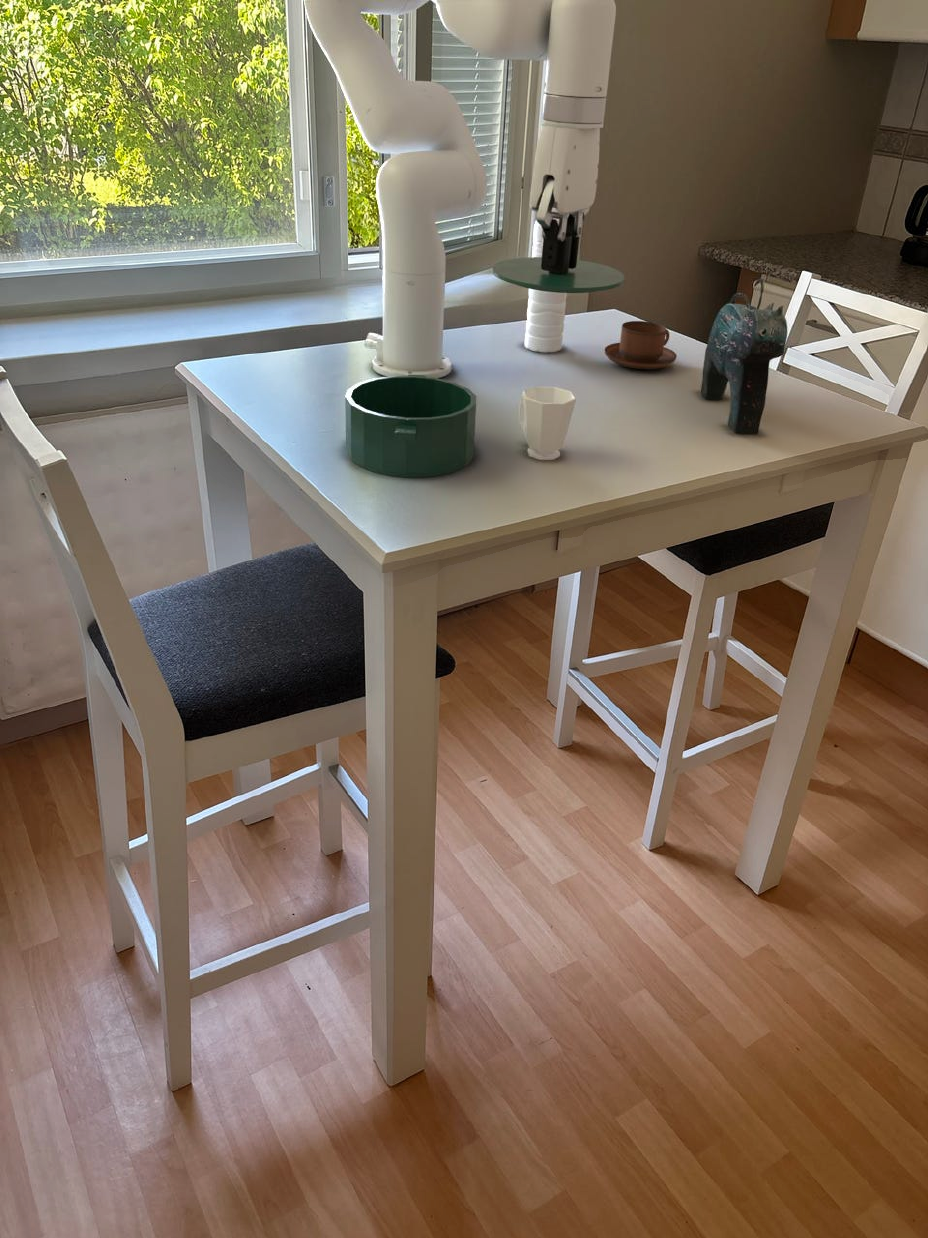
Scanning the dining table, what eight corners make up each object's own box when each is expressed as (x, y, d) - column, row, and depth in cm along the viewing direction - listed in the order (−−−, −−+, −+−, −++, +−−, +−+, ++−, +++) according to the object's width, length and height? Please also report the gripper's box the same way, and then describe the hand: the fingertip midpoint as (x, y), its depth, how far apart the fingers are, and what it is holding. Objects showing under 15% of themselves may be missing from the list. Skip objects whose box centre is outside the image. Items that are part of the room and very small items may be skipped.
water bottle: (569, 350, 170) (585, 195, 157) (539, 355, 167) (553, 197, 153) (538, 337, 176) (551, 186, 163) (509, 341, 173) (520, 188, 160)
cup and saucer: (624, 348, 172) (628, 313, 169) (686, 363, 167) (692, 327, 163) (590, 363, 164) (594, 326, 161) (655, 379, 158) (661, 341, 155)
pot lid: (491, 292, 122) (494, 244, 119) (492, 261, 137) (495, 218, 134) (630, 300, 122) (637, 252, 119) (617, 269, 137) (622, 226, 134)
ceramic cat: (769, 439, 138) (801, 293, 127) (724, 438, 137) (753, 292, 127) (725, 392, 154) (751, 260, 144) (686, 391, 154) (708, 258, 143)
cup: (534, 467, 125) (539, 406, 121) (496, 440, 132) (500, 381, 128) (580, 459, 128) (587, 400, 124) (540, 433, 135) (546, 376, 131)
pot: (336, 482, 118) (335, 423, 114) (356, 419, 137) (356, 366, 133) (472, 489, 118) (475, 430, 114) (474, 425, 137) (477, 372, 133)
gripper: (575, 106, 127) (561, 255, 136) (514, 112, 115) (503, 274, 124) (629, 112, 123) (610, 263, 133) (571, 118, 111) (555, 284, 121)
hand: (558, 267), depth 129 cm, fingers closed on pot lid, 2 cm apart
